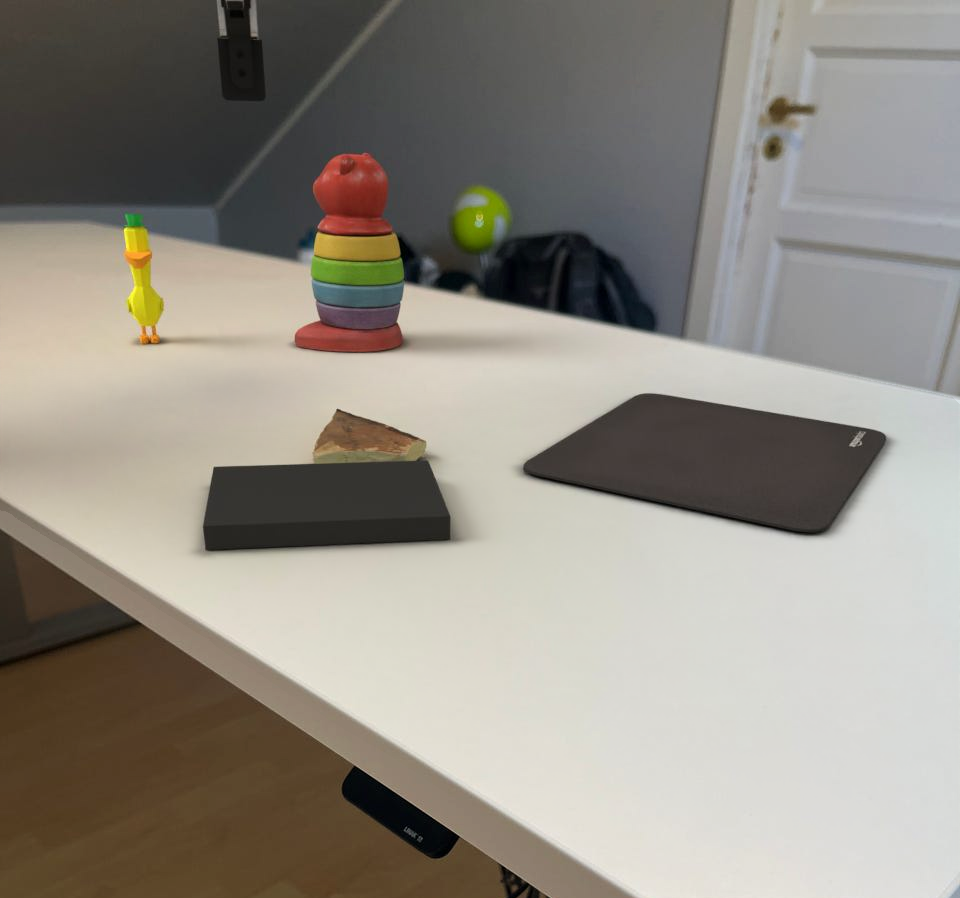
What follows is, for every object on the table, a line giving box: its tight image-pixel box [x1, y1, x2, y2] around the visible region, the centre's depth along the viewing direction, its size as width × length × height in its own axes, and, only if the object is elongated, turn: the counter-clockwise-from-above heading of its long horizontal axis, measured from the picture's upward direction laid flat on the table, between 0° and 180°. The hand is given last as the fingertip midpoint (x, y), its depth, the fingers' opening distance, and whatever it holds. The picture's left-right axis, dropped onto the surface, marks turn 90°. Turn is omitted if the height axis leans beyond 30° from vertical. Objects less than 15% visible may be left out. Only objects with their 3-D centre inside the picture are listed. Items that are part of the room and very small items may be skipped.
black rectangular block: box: [202, 459, 451, 551], centre depth 60 cm, size 14×10×2 cm
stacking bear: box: [294, 152, 405, 353], centre depth 98 cm, size 11×10×18 cm
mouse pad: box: [522, 392, 887, 533], centre depth 73 cm, size 25×21×1 cm
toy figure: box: [123, 213, 165, 345], centre depth 96 cm, size 7×4×12 cm, turn 14°
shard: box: [312, 408, 427, 464], centre depth 71 cm, size 11×8×2 cm
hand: (244, 100), depth 74 cm, fingers closed
